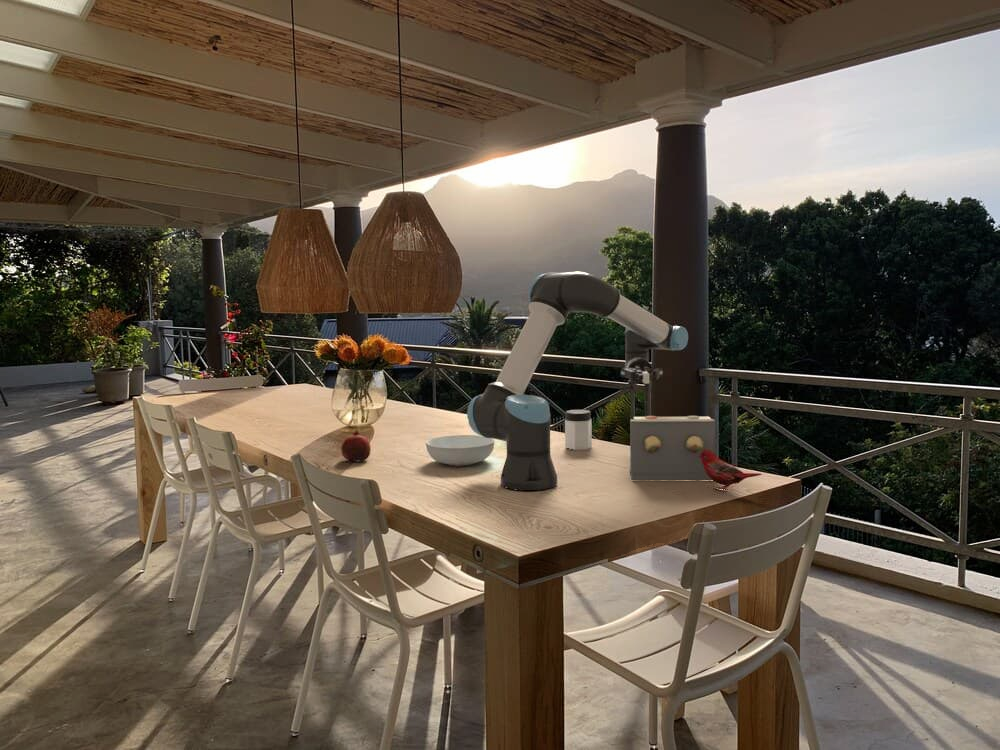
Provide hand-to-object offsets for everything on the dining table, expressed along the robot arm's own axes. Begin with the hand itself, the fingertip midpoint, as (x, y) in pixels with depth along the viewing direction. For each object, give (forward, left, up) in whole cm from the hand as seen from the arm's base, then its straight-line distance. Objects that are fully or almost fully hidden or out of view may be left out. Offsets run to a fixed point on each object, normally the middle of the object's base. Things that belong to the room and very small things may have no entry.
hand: (646, 378), depth 208 cm
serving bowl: (-26, +49, -26) cm, 61 cm away
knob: (-5, -16, -18) cm, 24 cm away
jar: (+11, +30, -26) cm, 41 cm away
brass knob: (-10, -6, -18) cm, 22 cm away
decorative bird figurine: (-13, -29, -26) cm, 41 cm away
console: (-9, -12, -26) cm, 29 cm away
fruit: (-42, +78, -26) cm, 92 cm away
